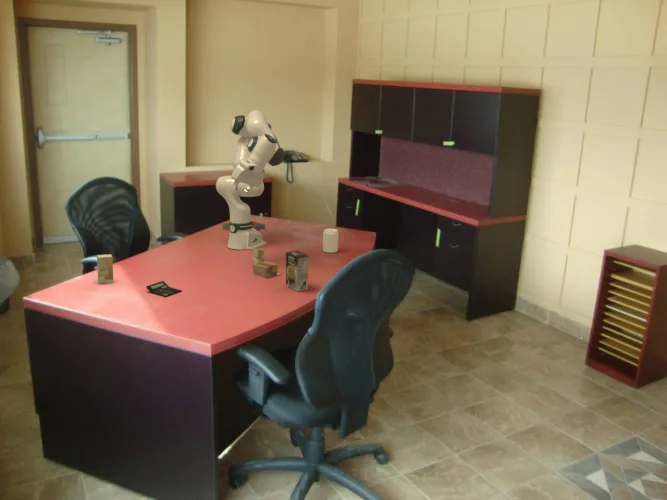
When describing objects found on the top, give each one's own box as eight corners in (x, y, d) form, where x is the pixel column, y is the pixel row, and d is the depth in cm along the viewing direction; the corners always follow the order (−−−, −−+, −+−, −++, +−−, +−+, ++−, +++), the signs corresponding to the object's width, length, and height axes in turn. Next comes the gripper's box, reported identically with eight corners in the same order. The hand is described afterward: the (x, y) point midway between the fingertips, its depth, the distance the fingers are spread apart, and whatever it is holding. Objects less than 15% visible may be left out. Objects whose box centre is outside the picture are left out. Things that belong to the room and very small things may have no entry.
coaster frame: (244, 224, 401) (244, 219, 401) (265, 228, 390) (265, 224, 390) (222, 228, 388) (222, 223, 387) (242, 233, 377) (242, 228, 376)
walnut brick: (265, 271, 303) (265, 261, 302) (277, 274, 298) (277, 264, 297) (253, 274, 297) (253, 264, 296) (265, 278, 292) (265, 268, 291)
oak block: (259, 263, 319) (259, 247, 317) (264, 265, 316) (264, 249, 314) (253, 264, 316) (252, 249, 314) (257, 266, 313) (257, 250, 311)
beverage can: (320, 252, 342) (321, 230, 339) (326, 248, 349) (326, 227, 346) (334, 254, 339) (335, 232, 336) (339, 250, 346) (340, 229, 343)
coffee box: (285, 286, 285) (285, 251, 280) (296, 283, 289) (297, 249, 284) (296, 291, 278) (297, 256, 274) (308, 289, 282) (309, 254, 277)
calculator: (165, 298, 266) (165, 291, 265) (146, 292, 272) (146, 286, 271) (181, 292, 274) (181, 285, 273) (162, 287, 280) (162, 280, 279)
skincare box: (99, 284, 280) (97, 257, 277) (97, 281, 283) (95, 255, 280) (114, 282, 283) (112, 256, 279) (112, 279, 286) (111, 253, 283)
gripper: (262, 167, 314) (248, 190, 317) (237, 158, 296) (223, 183, 298) (270, 173, 311) (256, 197, 314) (246, 165, 293) (231, 190, 296)
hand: (240, 190), depth 306 cm, fingers open, 8 cm apart
